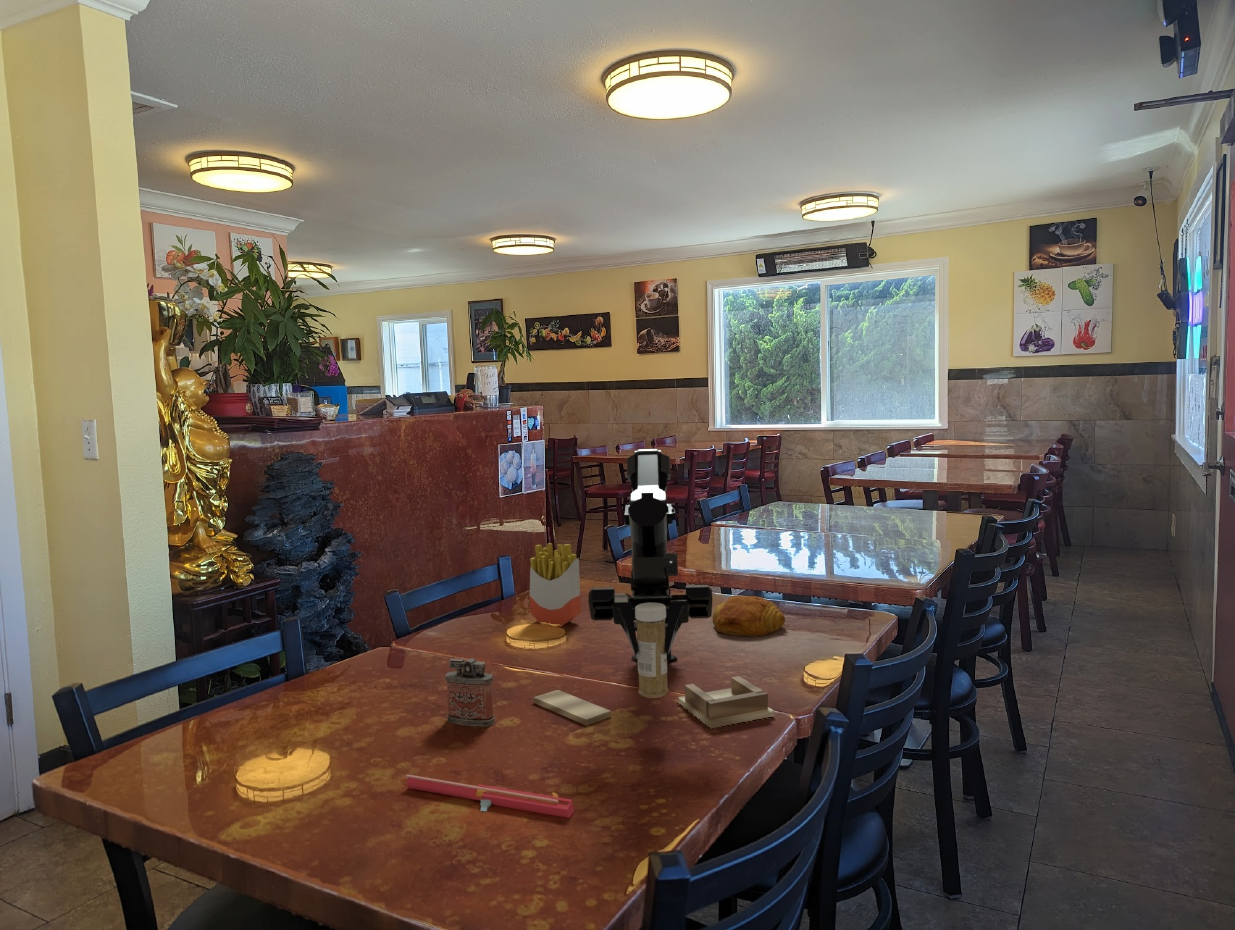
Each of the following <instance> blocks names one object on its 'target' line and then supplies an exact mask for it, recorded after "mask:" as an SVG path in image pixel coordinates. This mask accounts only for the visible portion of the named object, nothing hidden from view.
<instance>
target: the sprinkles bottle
mask: <svg viewBox="0 0 1235 930" xmlns="http://www.w3.org/2000/svg"><path fill="white" fill-rule="evenodd" d="M635 618H636V620H635V622H637V631H636V639H637V657H638V661H637V671H638V672H637V673H638V685H639V686H638V694H639V696H641V697H643V698H647V699H657V698H658V699H659V698H662V697H665V696H666V695H668V693H669V688H668V662H667V655H666V638H665V618H666V607H665V605H664V604H661V603H642V604H639V605H637V606H636V607H635Z"/></svg>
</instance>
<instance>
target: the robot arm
mask: <svg viewBox="0 0 1235 930" xmlns="http://www.w3.org/2000/svg"><path fill="white" fill-rule="evenodd" d="M626 477H627V482H630V486H631V492H630V494H629V504H625V507H624V509H625V510H624V525H625V526H626V527H629V531H630V532H629V533H630V539H631V572H630V591H631V595H630V594H629V593H626V592H623V593H621V592H620V593H618V592H617V593H616V590H615V586H610V587H607V586H606V587H592V588H591V589H590V590H589V591H588V608H589V615H590V618H591V620H593V621H612V620H613V623H614V624H615V625H620V626H621V628H622V629H623V632H624V634H625V635H626V637H627V638H628V642H629V644H630V647H631V649H632V652H633V654H634V655H631V659H632V660H634V661H637V662H638V657H637V622H636V621H637V620H636V618H635V607H636V606H637V605H639V604H642V603H661V604H664V605H665V607H666V618H665V638H666V655H667V663H669V662H672V661H677V660H678V656H676V655H674V654H673V655H672V646H673V644H674V641H675V639H676V638H675V637H676V635H677V634H678V631H679V630H680V628H681V626H682V625H683V624H687V623H689V621H690V619H709V618H712V617H713V611H712V610H713V599H714V598H713V589H712V588H711V587H710V586H709V584H701V585H699V584H697V585H696V584H695V585H694V584H693V585H692V584H691V585H685V594H671V592H672V591H671V589H670V578H669V577H677V576H679V565H678V564H679V563H678V553H677V552H673V553H672V552H669V553H668V538H667V535H668V529H669V528H668V525H669V526H672V525H673V523H674V521H676V517H677V516H676V510H675V509H674V508H673V506H672V503H668V498H667V489H668V481H670V480H671V457H670V456H669V455H666V454H664V453H662V451H661V450H659V449H657V448H653V449H652V448H650V449H649V448H646V449H637V450H634V454H632V455H631V456H628V457H627V458H626ZM689 618H690V619H689Z"/></svg>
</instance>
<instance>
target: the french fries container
mask: <svg viewBox="0 0 1235 930" xmlns="http://www.w3.org/2000/svg"><path fill="white" fill-rule="evenodd" d="M546 546H547V547H543V545H542V544H536V545H534V549H535V556H534V557H533V556H532V557H531V558H529V561H530V562H529V563H530V566H529V567H530V571H529V612H530V614H531V615H532V616H533V617H534V618H535V620H536V621H537V622H538V623H539V622H546V623H551V624H560V625H564V624H566V623H568V622H570V621H571V622H572V621H573V620H575V619H576V618H577V617H578V616H579V614H581V610H582V609H581V589H580V588H581V587H580V586H581V581H580V580H581V579H580V559H579V557H578V558H577V554H576V553H575V554H574V553H572V544H571V543H567V544H566V543H565V544H562V543H559V544H557V549H555V550H553V543H552V542H551V543H550V542H549V543H547V544H546ZM571 622H570V623H571ZM568 624H569V623H568ZM566 625H567V624H566ZM564 626H565V625H564Z"/></svg>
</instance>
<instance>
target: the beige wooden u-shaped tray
mask: <svg viewBox="0 0 1235 930" xmlns="http://www.w3.org/2000/svg"><path fill="white" fill-rule="evenodd" d="M730 683H731V684H730V685H731V687H730V688H723V689H718V690H712V691H706V692H705V691H704V690H702V689H701V688H700V687H698V686H697V685H696V684H694V683H689V684H684V695H682V696H677V703H679V704H678V705H680V704H681V705H682V706H683V707H682V706H681V705H680V706H681V707H682V708H684V709H685V710H686V709H687V710H688V711H687V710H686V711H687V712H688V713H690V712H691V713H692V714H693V715H692V714H691V713H690V714H691V715H692V716H694V717H695V716H696V717H697V719H698V720H699V719H700V720H699V721H700V722H701V721H702V722H701V723H703V724H704V725H705V724H706V725H705V726H707V727H708V728H709V727H710V728H709V729H711V730H713V729H712V728H714V729H718V728H717V727H719V728H722V727H721V726H724V725H730V726H732V725H731V724H735V725H737V724H736V723H739V722H745V721H751V722H753V721H752V720H755V719H761V718H763V717H772V716H774V717H775V710H774V709H772V708H771V707H769V694H768V692H766V691H765V690H762V689H761V688H759V687H758V686H756V685H754V684H753V683H751V682H750V681H748V680H746V679H744V678H743V677H741V676H739V675H738V676H732V677H730ZM696 717H695V718H696ZM715 727H716V728H715Z"/></svg>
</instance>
